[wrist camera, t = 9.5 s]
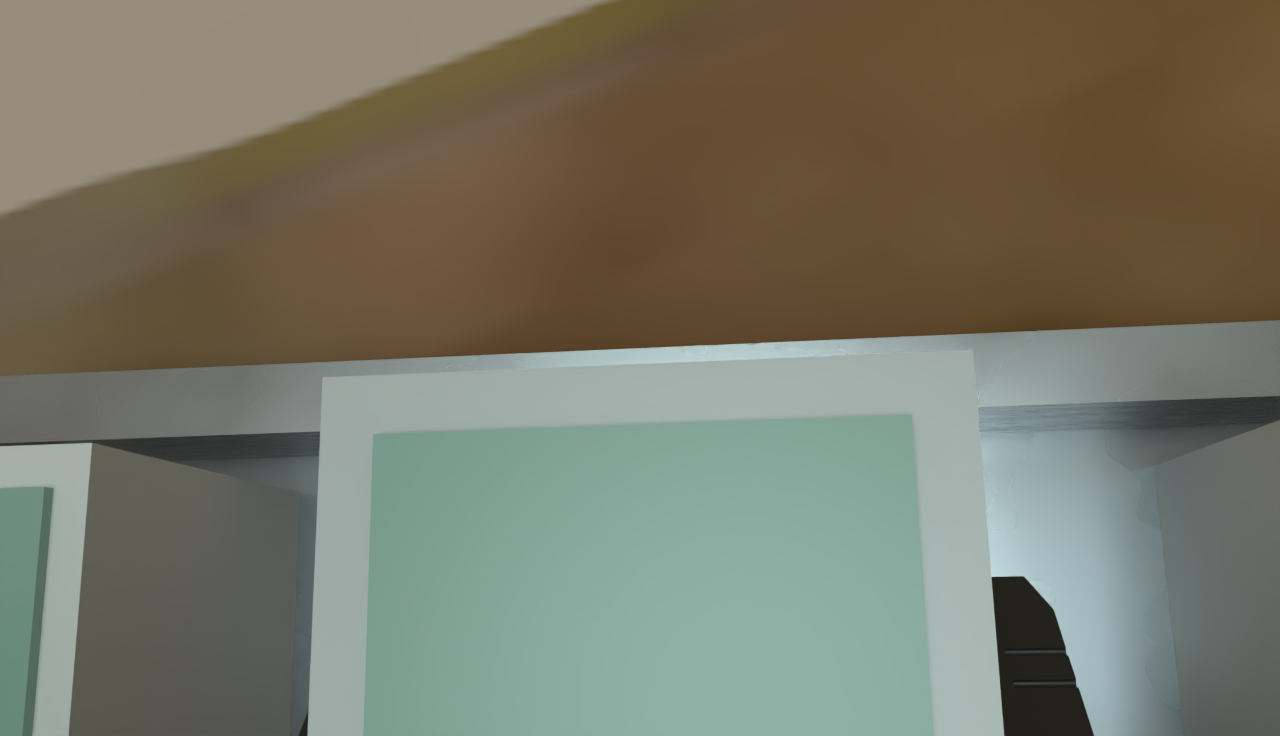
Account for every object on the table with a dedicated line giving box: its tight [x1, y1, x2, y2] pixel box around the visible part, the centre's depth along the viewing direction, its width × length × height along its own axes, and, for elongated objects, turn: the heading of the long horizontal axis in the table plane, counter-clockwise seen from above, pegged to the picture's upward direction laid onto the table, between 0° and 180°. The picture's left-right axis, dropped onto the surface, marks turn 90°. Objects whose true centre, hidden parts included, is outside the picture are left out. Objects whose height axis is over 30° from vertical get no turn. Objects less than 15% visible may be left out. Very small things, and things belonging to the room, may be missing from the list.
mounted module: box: [0, 443, 300, 736], centre depth 18 cm, size 5×6×7 cm
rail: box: [0, 320, 1280, 736], centre depth 20 cm, size 26×9×4 cm, turn 91°
